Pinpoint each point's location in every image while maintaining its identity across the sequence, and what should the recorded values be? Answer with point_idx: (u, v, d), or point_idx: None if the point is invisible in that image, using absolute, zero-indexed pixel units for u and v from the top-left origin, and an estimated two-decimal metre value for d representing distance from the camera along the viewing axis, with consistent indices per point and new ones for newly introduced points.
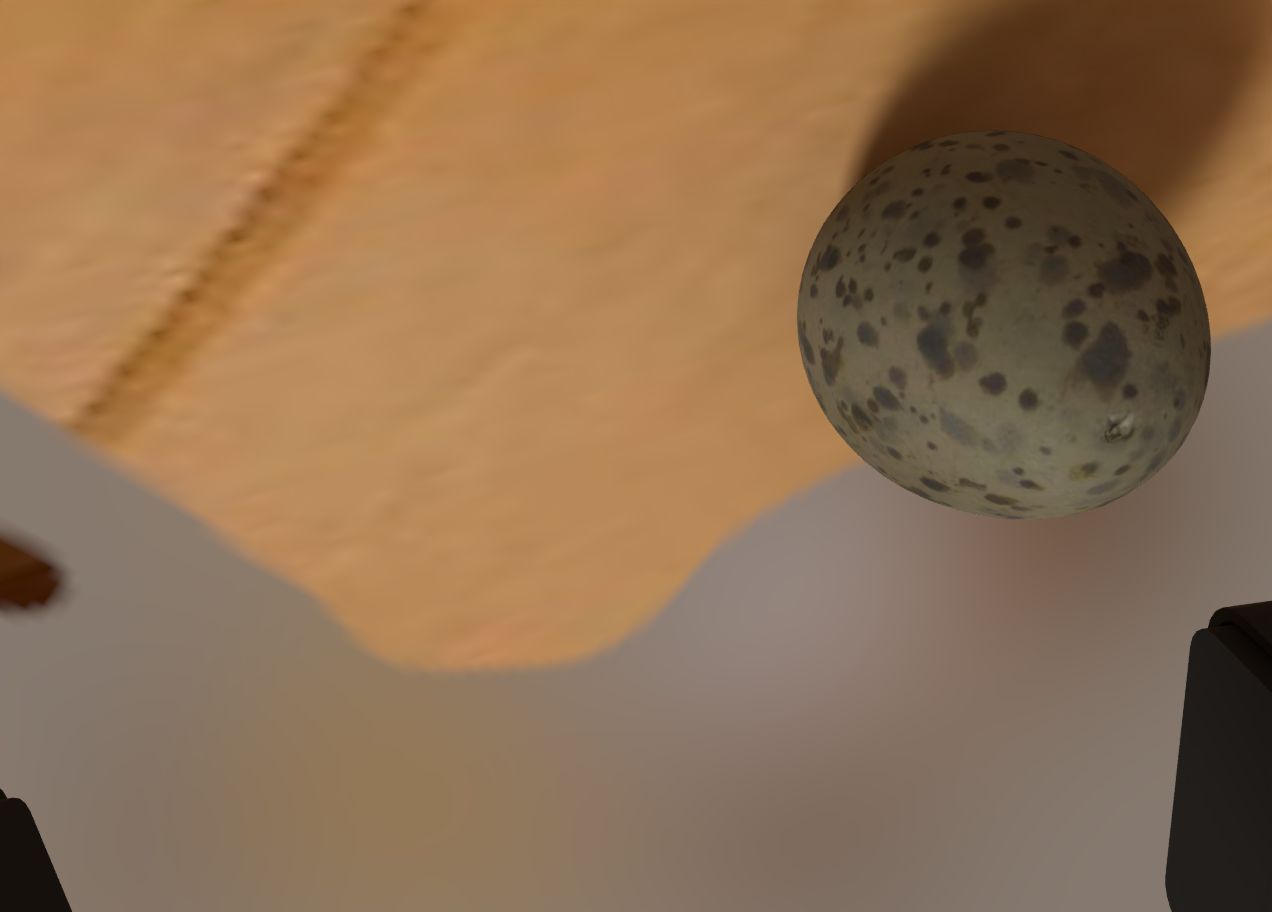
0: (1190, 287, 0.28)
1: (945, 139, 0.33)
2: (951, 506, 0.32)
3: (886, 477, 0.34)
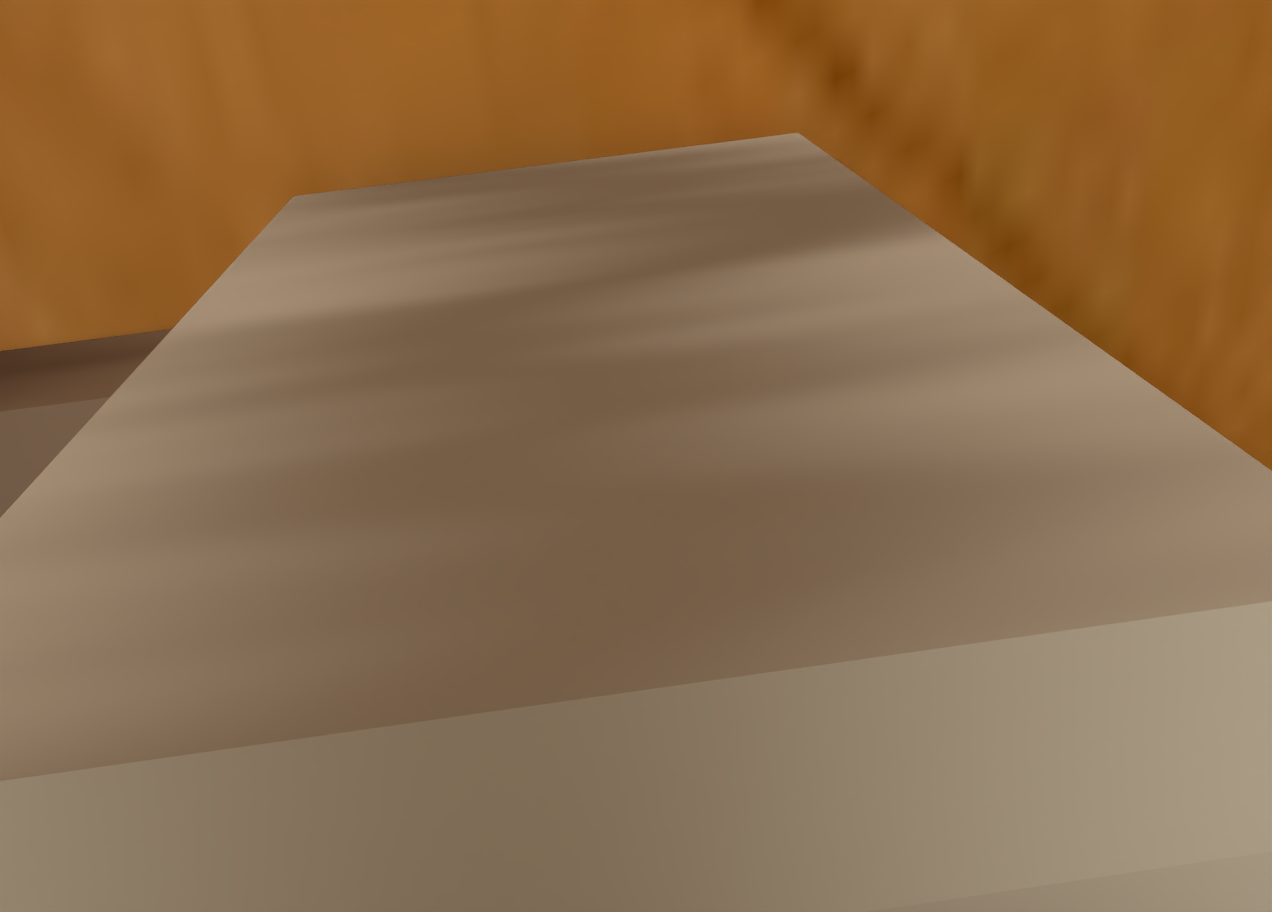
0: None
1: None
2: None
3: None
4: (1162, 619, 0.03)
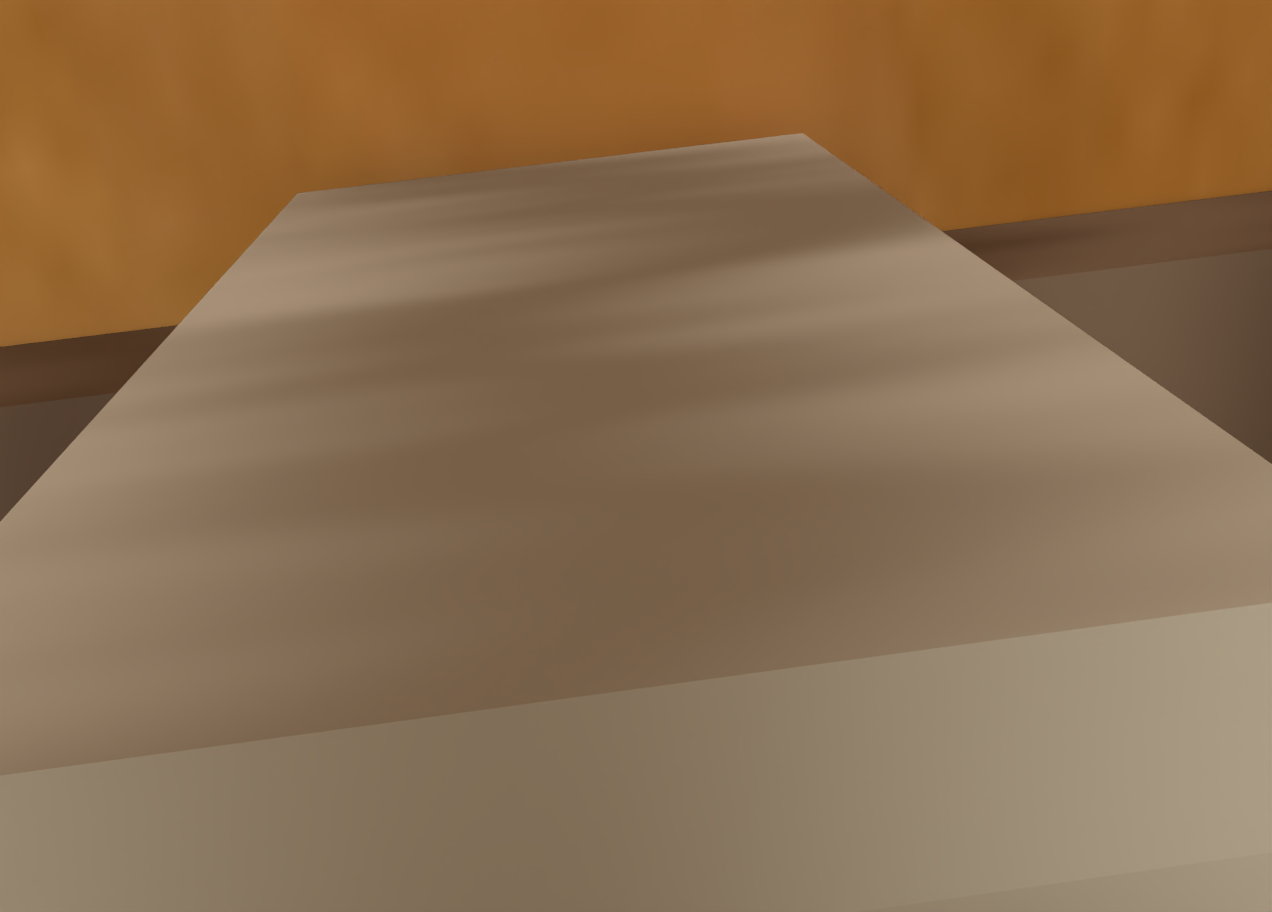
0: None
1: None
2: None
3: None
4: (1174, 618, 0.03)
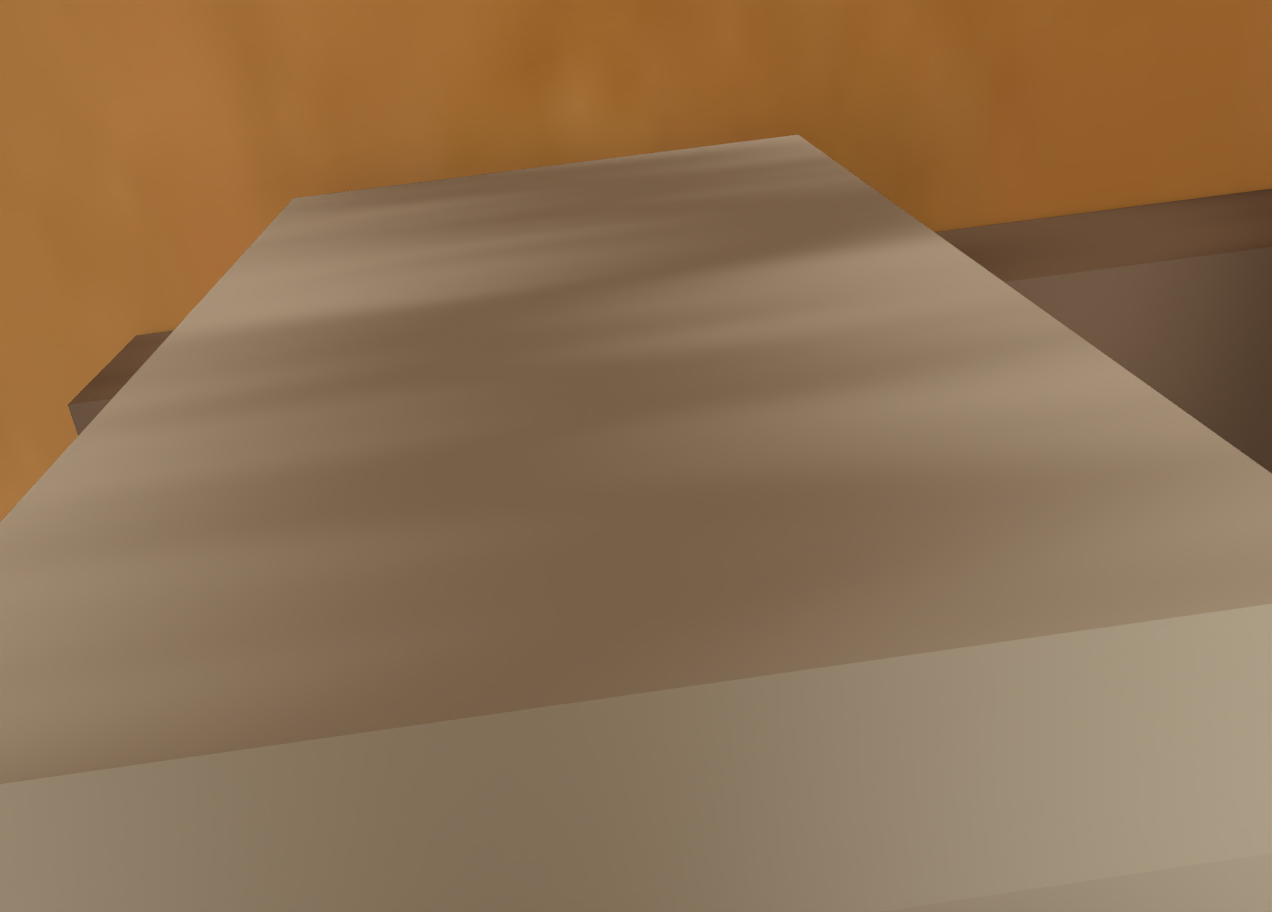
0: None
1: None
2: None
3: None
4: (1162, 621, 0.03)
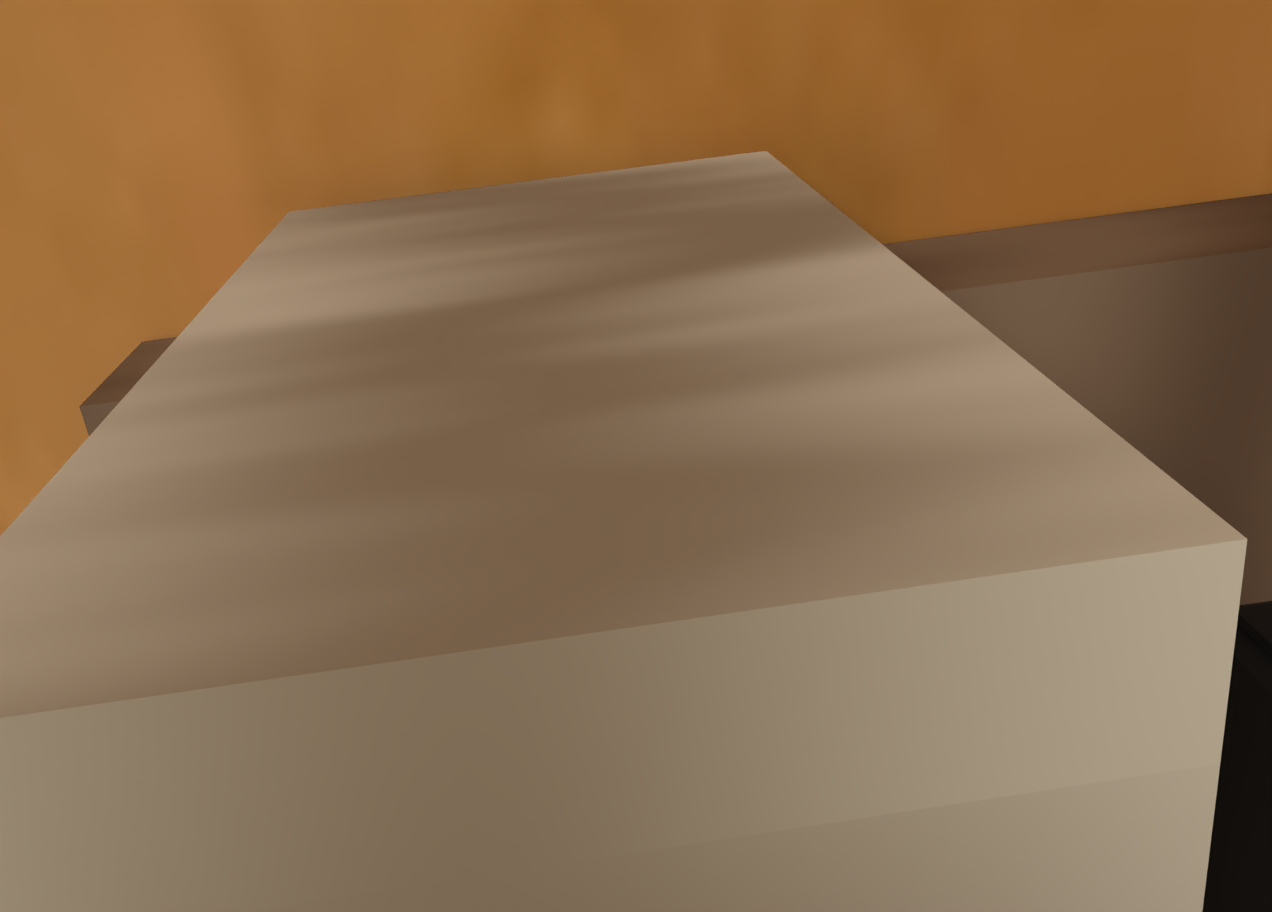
0: None
1: None
2: None
3: None
4: (1028, 573, 0.04)
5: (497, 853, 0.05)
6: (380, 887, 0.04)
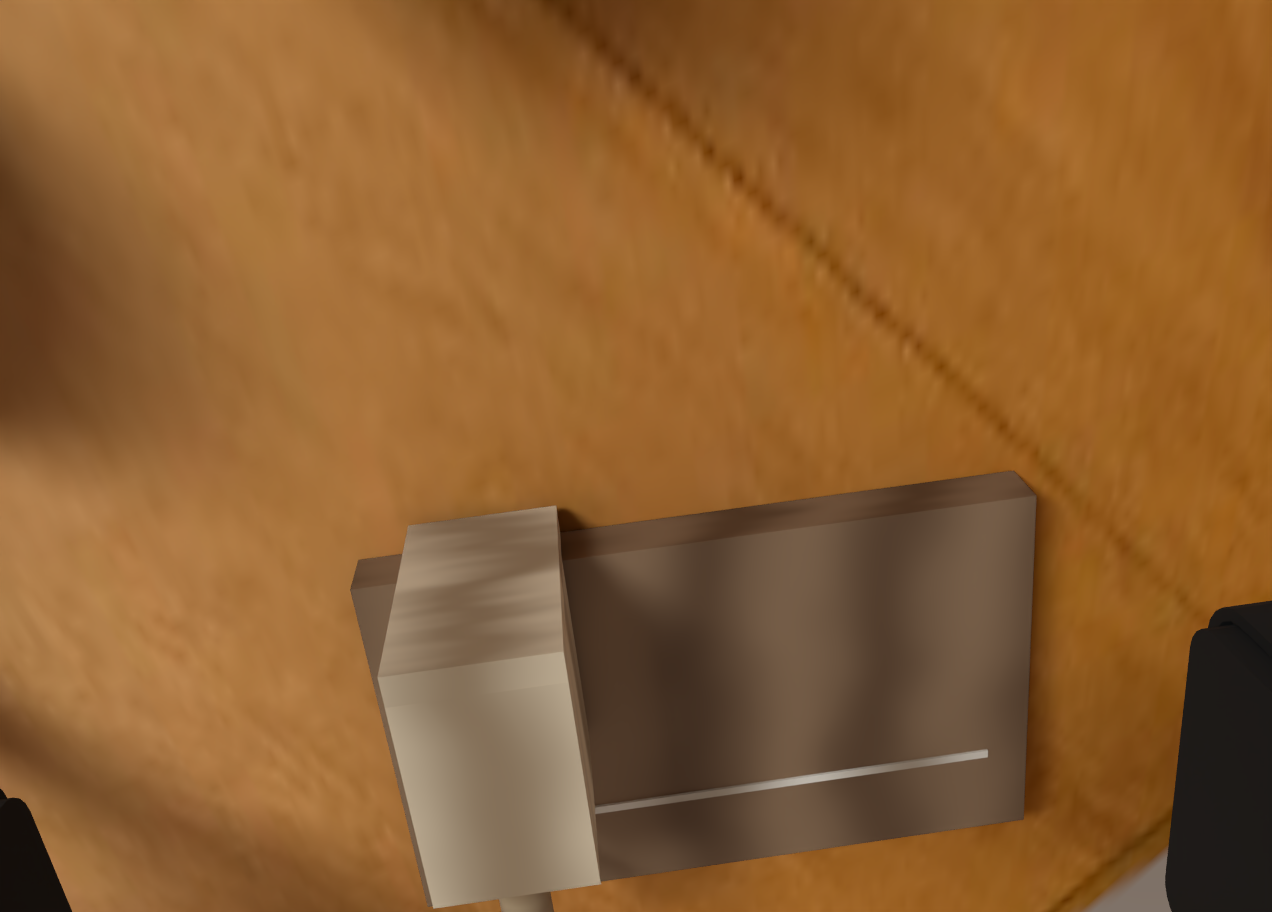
0: None
1: None
2: None
3: None
4: (534, 655, 0.31)
5: (464, 694, 0.31)
6: (448, 698, 0.31)
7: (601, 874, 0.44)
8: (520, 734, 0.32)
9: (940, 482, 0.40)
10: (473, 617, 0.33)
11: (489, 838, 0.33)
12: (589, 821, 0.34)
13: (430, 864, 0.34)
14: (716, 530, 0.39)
